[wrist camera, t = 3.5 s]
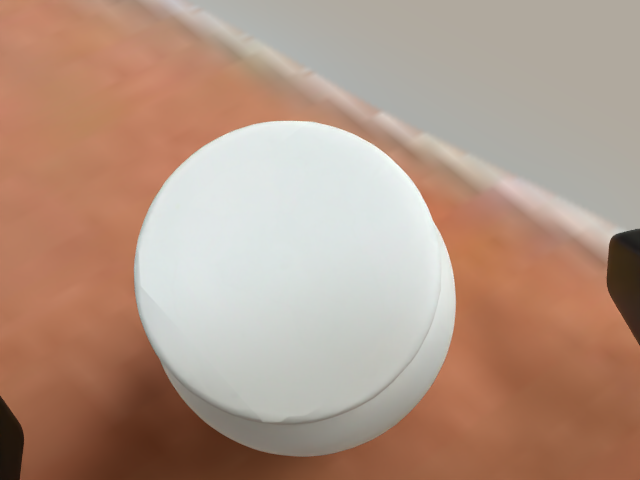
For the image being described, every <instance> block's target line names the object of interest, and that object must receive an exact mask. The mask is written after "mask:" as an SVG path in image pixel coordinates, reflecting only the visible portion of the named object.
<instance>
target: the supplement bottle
mask: <svg viewBox="0 0 640 480" xmlns="http://www.w3.org/2000/svg"><path fill="white" fill-rule="evenodd" d="M134 284H135V296H136V302H137V307H138V311H139V315H140V319H141V322H142V325H143V327H144V330H145V332H146V335H147V337H148V339H149V341H150V343H151V345H152V347H153V349H154V351H155V353H156V355H157V356H158V357H159V359H160V361H161V363H162V366H163V368H164V370H165V372H166V374H167V376H168V378H169V380H170V382H171V383H172V385H173V386H174V388H175V389H176V391H177V392H178V393H179V395H180V396H181V398H182V399H183V400H184V401H185V402H186V404H187V405H188V406H189V407H190V408H191V409H192V410H193V411H194V412H195V413H196V414H197V415H198V416H199V417H200V418H201V419H202V420H203V421H205V422H206V423H207V424H208V425H210V426H211V427H212V428H214V429H215V430H217V431H218V432H220V433H221V434H223V435H224V436H226V437H228V438H230V439H232V440H234V441H236V442H238V443H240V444H242V445H245V446H247V447H250V448H253V449H256V450H259V451H263V452H267V453H271V454H278V455H285V456H300V457H308V456H321V455H327V454H333V453H336V452H340V451H344V450H347V449H351V448H354V447H356V446H359V445H361V444H363V443H366V442H368V441H371V440H373V439H374V438H376V437H378V436H380V435H381V434H383V433H385V432H386V431H387V430H389V429H390V428H392V427H393V426H395V425H396V424H397V423H398V422H399V421H401V420H402V419H403V418H404V417H405V416H406V415H407V414H408V413H410V411H411V410H412V409H413V408H414V407H415V406H416V405H417V404H418V403H419V402H420V400H421V399H422V398H423V396H424V395H425V394H426V392H427V391H428V390H429V388H430V387H431V385H432V384H433V382H434V381H435V379H436V377H437V375H438V373H439V371H440V369H441V367H442V365H443V363H444V361H445V358H446V355H447V352H448V349H449V345H450V342H451V338H452V334H453V329H454V321H455V310H456V293H455V283H454V275H453V270H452V265H451V261H450V258H449V255H448V252H447V249H446V246H445V243H444V241H443V239H442V236H441V234H440V232H439V230H438V229H437V227H436V225H435V223H434V222H433V220H432V217H431V215H430V212H429V209H428V207H427V205H426V203H425V202H424V200H423V198H422V196H421V194H420V192H419V190H418V189H417V187H416V186H415V184H414V183H413V181H412V180H411V179H410V178H409V176H408V175H407V174H406V173H405V172H404V171H403V170H402V169H401V168H400V167H399V166H398V165H397V164H396V163H395V162H394V161H393V160H392V159H391V158H390V157H389V156H387V155H386V154H385V153H384V152H382V151H381V150H380V149H378V148H377V147H376V146H374V145H373V144H371V143H369V142H367V141H365V140H364V139H362V138H360V137H358V136H356V135H355V134H352V133H349V132H347V131H344V130H342V129H339V128H336V127H332V126H328V125H324V124H320V123H316V122H305V121H272V122H264V123H258V124H254V125H250V126H247V127H244V128H240V129H237V130H234V131H232V132H230V133H227V134H225V135H223V136H221V137H219V138H217V139H215V140H214V141H212V142H210V143H208V144H206V145H205V146H203V147H202V148H200V149H199V150H198V151H196V152H195V153H194V154H192V155H191V156H190V157H189V158H188V159H187V160H186V161H185V162H183V163H182V164H181V165H180V166H179V167H178V168H177V169H176V170H175V171H174V172H173V173H172V175H171V176H170V177H169V178H168V179H167V180H166V182H165V183H164V185H163V186H162V188H161V189H160V191H159V192H158V194H157V195H156V197H155V198H154V200H153V202H152V204H151V206H150V208H149V210H148V212H147V215H146V217H145V219H144V222H143V225H142V228H141V231H140V234H139V238H138V242H137V248H136V254H135V262H134Z"/></svg>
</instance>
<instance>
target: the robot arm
mask: <svg viewBox="0 0 640 480" xmlns="http://www.w3.org/2000/svg"><path fill="white" fill-rule="evenodd" d="M607 287H608V291H609V293H610V296H611V298H612V299H613V301H614V303H615V305H616V306H617V308H618V310H619V311H620V313H621V315H622V316H623V318H624V320H625V322H626V323H627V325H628V327H629V328H630V330H631V332H632V333H633V335H634V337H635V338H636V340H637V342H638V344H639V345H640V229H635V230H631V231H627V232H623V233H618V234H616V235H614V236H613V237H612V238H611V240H610V244H609V255H608V268H607ZM23 445H24V434H23V430H22V427H21V425H20V423H19V422H18V420H17V419H16V417H15V416H14V415H13V413H12V412H11V410H10V409H9V407H8V406H7V405H6V403H5V402H4V400H3V399H2V398H1V396H0V480H20V472H21V463H22V454H23Z"/></svg>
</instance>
